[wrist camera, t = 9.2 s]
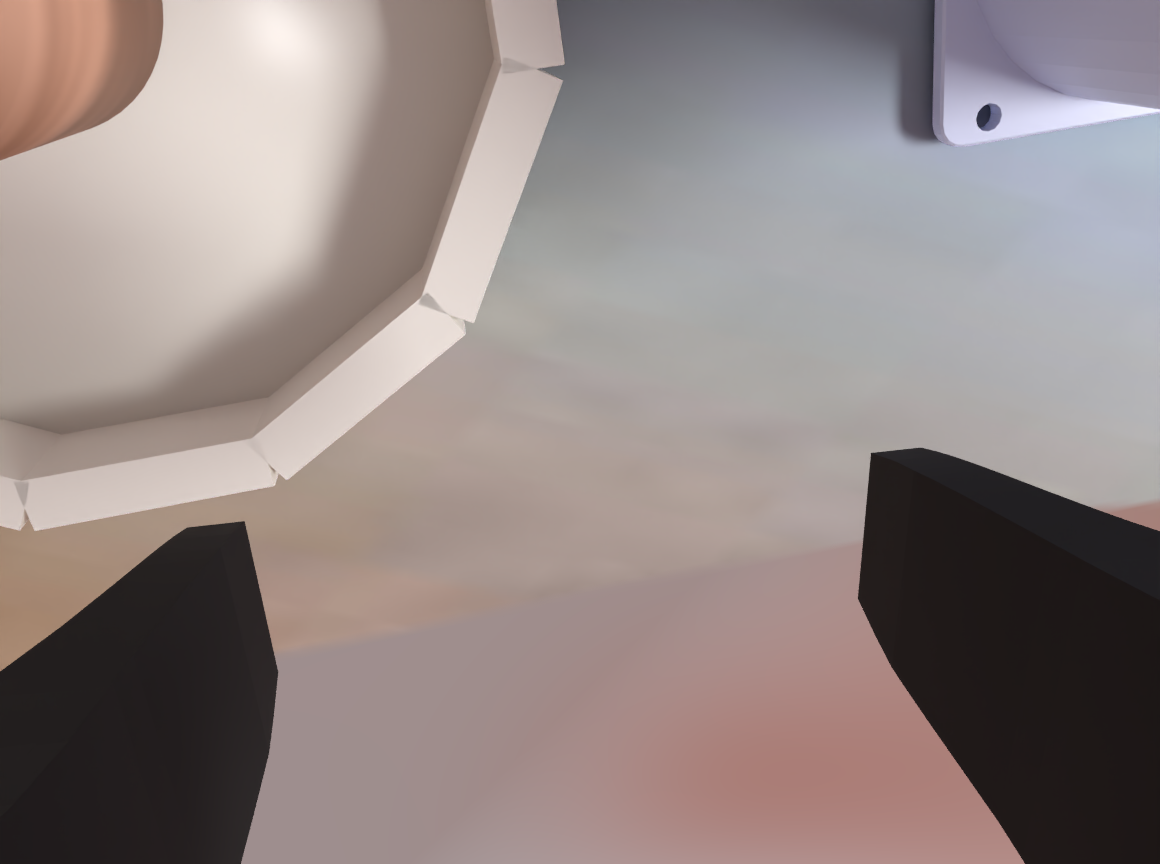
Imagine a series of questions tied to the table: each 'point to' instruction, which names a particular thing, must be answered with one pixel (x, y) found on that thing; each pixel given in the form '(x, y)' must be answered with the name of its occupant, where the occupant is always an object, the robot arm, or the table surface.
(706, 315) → the table surface
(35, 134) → the brown rounded cylinder
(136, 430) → the round tray
